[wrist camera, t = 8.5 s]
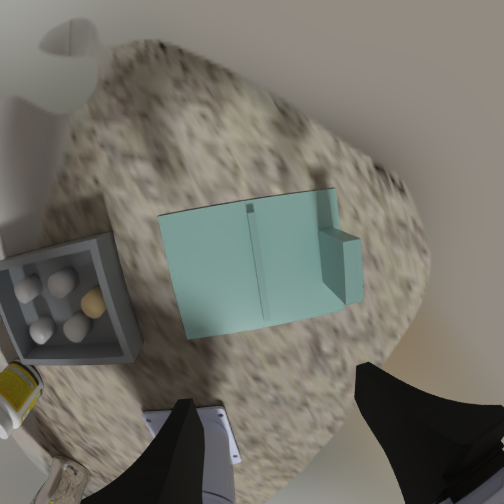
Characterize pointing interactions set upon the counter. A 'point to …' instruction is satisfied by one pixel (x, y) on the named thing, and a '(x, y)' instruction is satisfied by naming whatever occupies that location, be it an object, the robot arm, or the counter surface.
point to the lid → (261, 262)
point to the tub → (69, 304)
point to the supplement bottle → (17, 395)
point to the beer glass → (63, 483)
